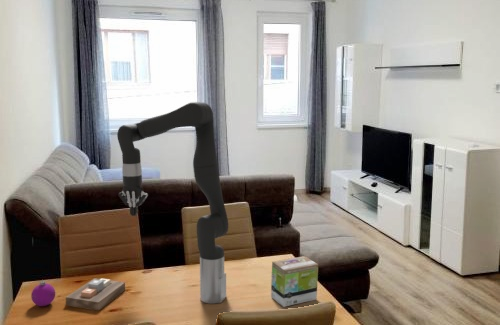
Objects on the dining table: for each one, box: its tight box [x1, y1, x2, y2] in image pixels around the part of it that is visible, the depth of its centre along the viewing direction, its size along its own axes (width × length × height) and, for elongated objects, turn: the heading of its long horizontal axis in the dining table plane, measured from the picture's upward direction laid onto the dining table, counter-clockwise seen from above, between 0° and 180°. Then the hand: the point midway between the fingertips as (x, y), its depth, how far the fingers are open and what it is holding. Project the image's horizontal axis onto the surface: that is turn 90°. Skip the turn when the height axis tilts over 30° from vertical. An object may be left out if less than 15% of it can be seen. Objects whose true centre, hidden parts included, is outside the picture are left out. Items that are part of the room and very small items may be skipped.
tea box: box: [270, 255, 319, 308], centre depth 179 cm, size 15×10×15 cm
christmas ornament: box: [30, 279, 56, 307], centre depth 174 cm, size 8×8×10 cm
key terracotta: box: [81, 288, 97, 298], centre depth 176 cm, size 4×4×3 cm
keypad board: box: [65, 277, 126, 311], centre depth 181 cm, size 14×18×3 cm
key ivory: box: [99, 277, 111, 291], centre depth 185 cm, size 4×4×3 cm
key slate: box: [87, 278, 104, 293], centre depth 180 cm, size 4×4×3 cm
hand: (134, 215), depth 192 cm, fingers closed
